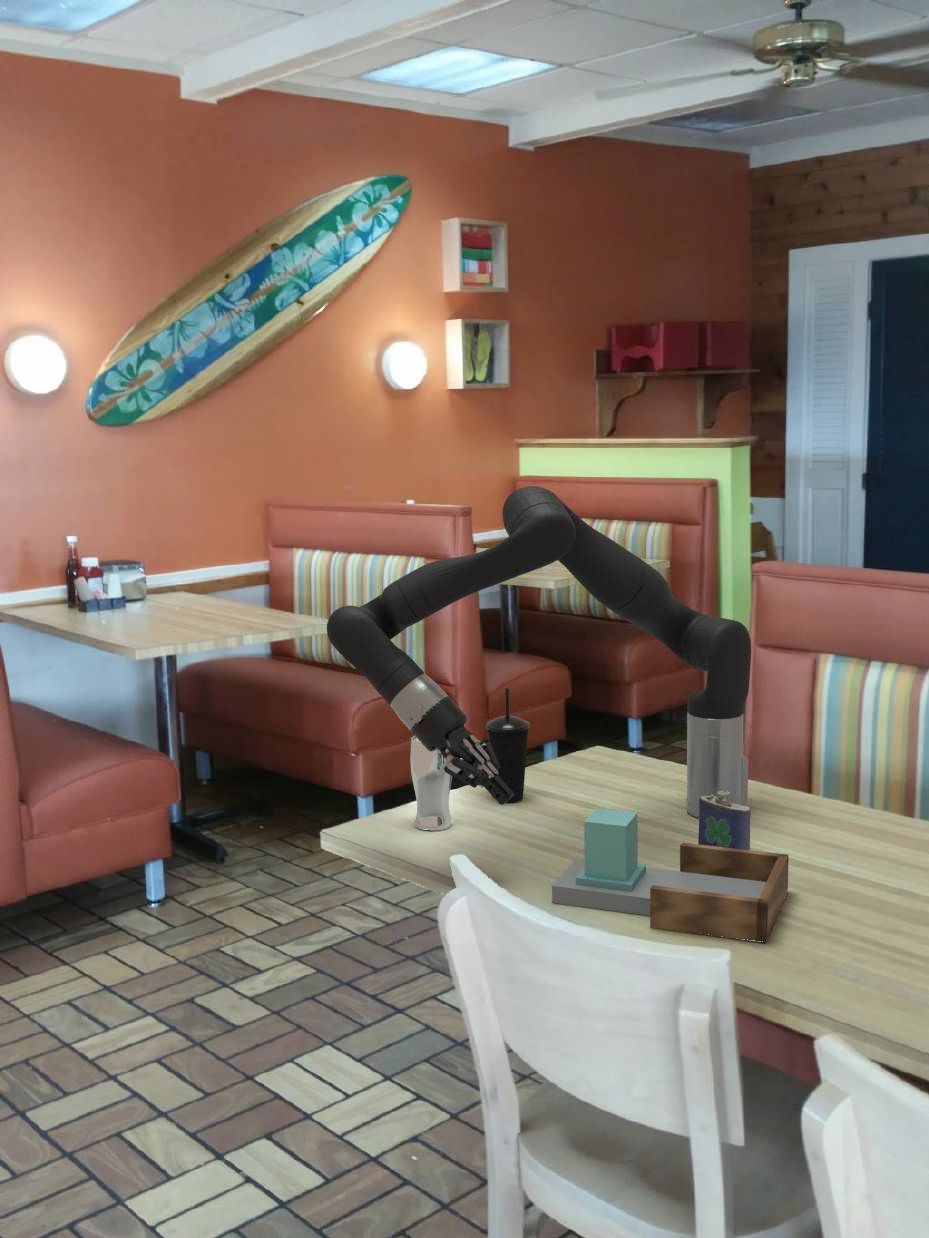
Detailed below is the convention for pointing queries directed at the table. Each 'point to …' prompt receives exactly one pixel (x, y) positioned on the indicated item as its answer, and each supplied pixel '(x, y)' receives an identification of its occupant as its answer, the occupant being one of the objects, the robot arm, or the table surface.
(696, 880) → the board
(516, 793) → the drinking cup
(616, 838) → the teal block
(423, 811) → the beer glass
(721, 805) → the flask
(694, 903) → the box
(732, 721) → the robot arm
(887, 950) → the table surface
